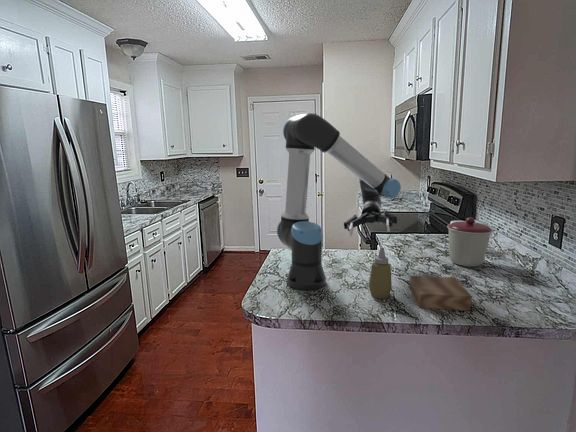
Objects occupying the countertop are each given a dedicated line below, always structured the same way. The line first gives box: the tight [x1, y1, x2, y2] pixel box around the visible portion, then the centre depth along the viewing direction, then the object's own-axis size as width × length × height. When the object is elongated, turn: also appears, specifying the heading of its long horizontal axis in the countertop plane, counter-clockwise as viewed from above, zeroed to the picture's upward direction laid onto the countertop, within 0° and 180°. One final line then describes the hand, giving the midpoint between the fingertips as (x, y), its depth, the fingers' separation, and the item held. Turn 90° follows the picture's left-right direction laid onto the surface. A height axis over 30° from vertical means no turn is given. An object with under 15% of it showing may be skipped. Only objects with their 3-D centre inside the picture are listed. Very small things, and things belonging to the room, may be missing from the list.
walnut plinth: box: [409, 275, 473, 311], centre depth 123 cm, size 16×16×5 cm
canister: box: [446, 217, 494, 268], centre depth 157 cm, size 18×18×21 cm
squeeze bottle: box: [368, 247, 393, 300], centre depth 124 cm, size 8×8×18 cm
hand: (369, 230), depth 129 cm, fingers open, 13 cm apart
